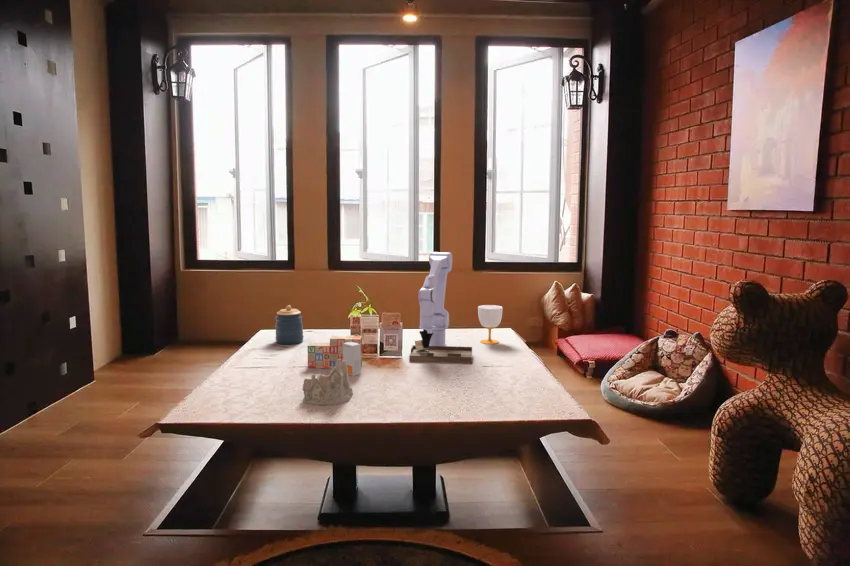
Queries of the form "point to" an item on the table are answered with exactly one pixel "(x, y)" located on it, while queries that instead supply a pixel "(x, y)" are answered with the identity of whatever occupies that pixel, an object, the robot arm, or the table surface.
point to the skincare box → (352, 357)
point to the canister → (289, 326)
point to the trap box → (442, 354)
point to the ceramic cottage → (329, 387)
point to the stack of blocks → (329, 351)
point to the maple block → (419, 345)
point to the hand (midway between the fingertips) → (426, 347)
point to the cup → (490, 319)
